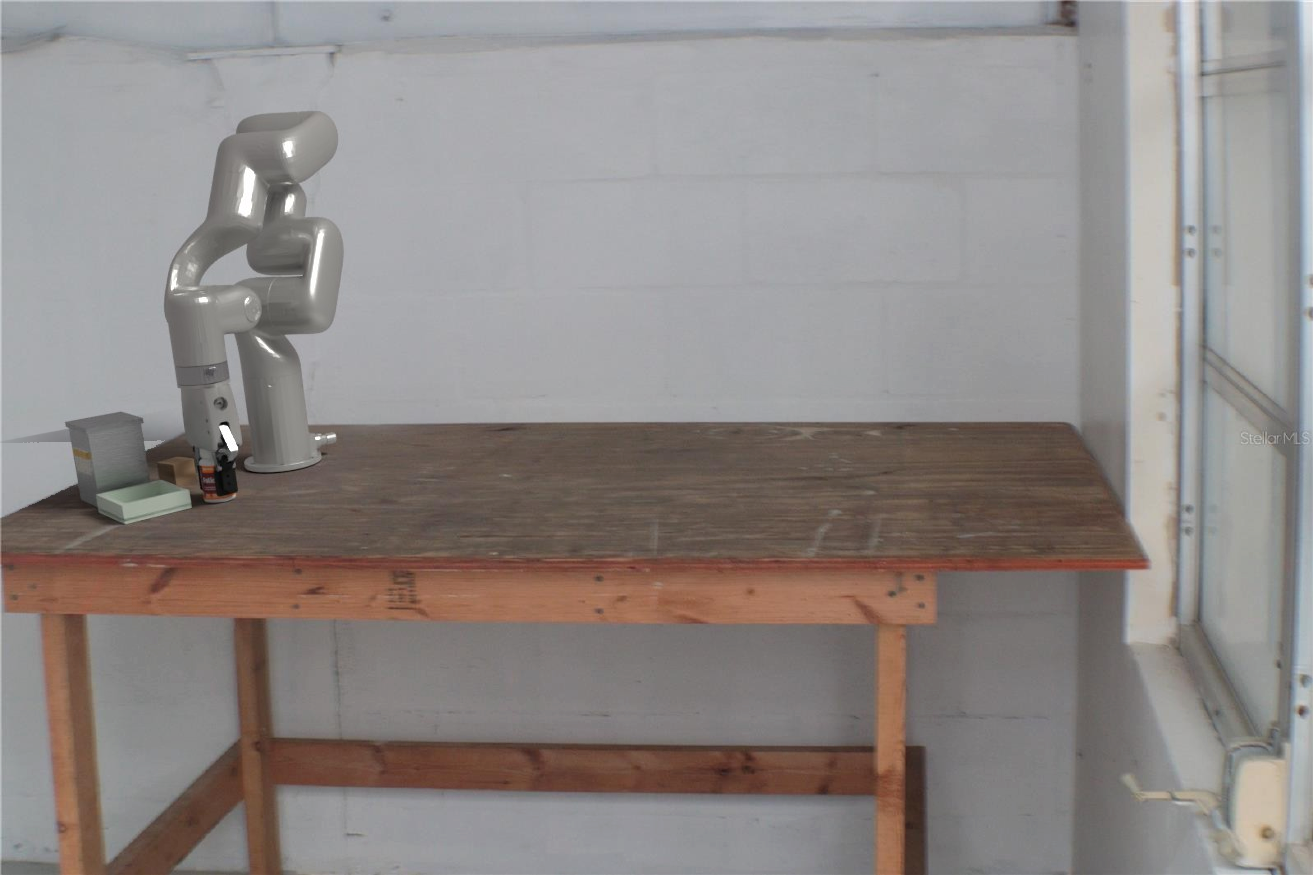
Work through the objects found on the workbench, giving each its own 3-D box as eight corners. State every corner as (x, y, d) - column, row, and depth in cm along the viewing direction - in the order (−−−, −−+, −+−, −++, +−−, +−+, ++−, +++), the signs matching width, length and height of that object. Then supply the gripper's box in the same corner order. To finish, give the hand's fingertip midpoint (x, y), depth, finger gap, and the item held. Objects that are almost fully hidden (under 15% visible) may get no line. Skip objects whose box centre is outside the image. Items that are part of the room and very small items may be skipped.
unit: (134, 487, 197) (122, 411, 194) (156, 495, 191) (144, 417, 188) (77, 500, 191) (64, 422, 188) (98, 509, 185) (85, 429, 182)
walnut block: (180, 480, 200) (177, 456, 199) (197, 482, 198) (193, 458, 197) (160, 486, 197) (156, 462, 196) (177, 488, 195) (173, 464, 194)
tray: (163, 496, 190) (161, 479, 189) (191, 507, 183) (189, 489, 182) (98, 512, 183) (95, 494, 182) (125, 524, 176) (122, 505, 175)
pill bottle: (202, 505, 184) (195, 451, 182) (205, 497, 188) (197, 444, 186) (235, 501, 185) (228, 447, 183) (237, 493, 190) (230, 441, 188)
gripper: (252, 376, 179) (268, 494, 183) (201, 365, 191) (217, 477, 195) (203, 384, 174) (221, 506, 178) (154, 373, 186) (172, 488, 190)
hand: (219, 490), depth 186 cm, fingers closed on pill bottle, 4 cm apart
